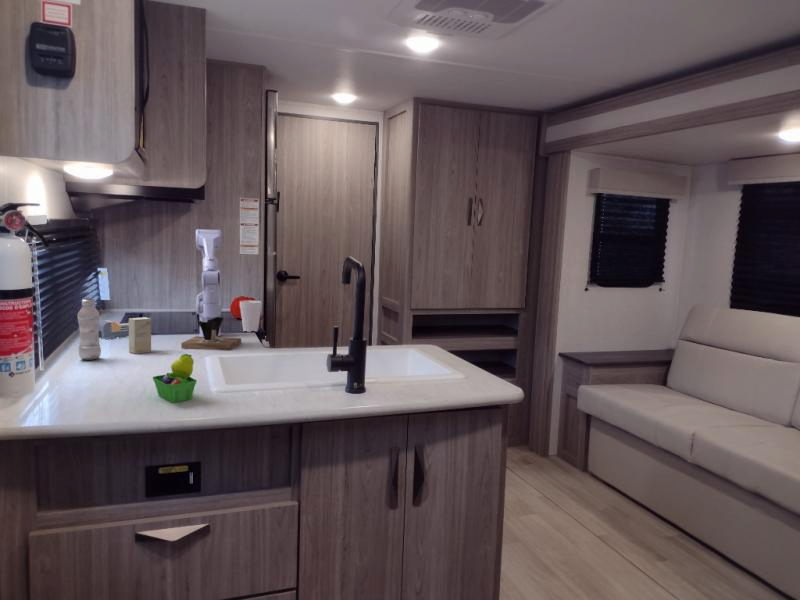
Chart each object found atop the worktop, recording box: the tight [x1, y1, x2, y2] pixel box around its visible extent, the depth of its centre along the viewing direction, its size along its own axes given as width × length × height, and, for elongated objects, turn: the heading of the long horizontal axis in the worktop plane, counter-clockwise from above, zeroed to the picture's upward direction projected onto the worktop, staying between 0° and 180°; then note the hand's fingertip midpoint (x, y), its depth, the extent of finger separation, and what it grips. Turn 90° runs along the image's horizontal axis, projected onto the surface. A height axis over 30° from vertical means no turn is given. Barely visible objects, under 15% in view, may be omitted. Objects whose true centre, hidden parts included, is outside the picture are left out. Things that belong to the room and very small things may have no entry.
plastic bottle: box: [76, 298, 102, 361], centre depth 186 cm, size 6×7×20 cm
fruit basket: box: [152, 353, 197, 403], centre depth 149 cm, size 11×9×11 cm
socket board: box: [180, 335, 242, 351], centre depth 216 cm, size 14×18×2 cm
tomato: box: [229, 295, 257, 320], centre depth 282 cm, size 13×14×12 cm
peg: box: [205, 330, 216, 342], centre depth 215 cm, size 4×4×6 cm
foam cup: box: [240, 300, 263, 333], centre depth 250 cm, size 10×9×13 cm
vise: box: [98, 319, 129, 341], centre depth 229 cm, size 18×10×7 cm, turn 141°
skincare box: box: [128, 316, 152, 355], centre depth 200 cm, size 6×4×12 cm
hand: (211, 338), depth 215 cm, fingers open, 7 cm apart
